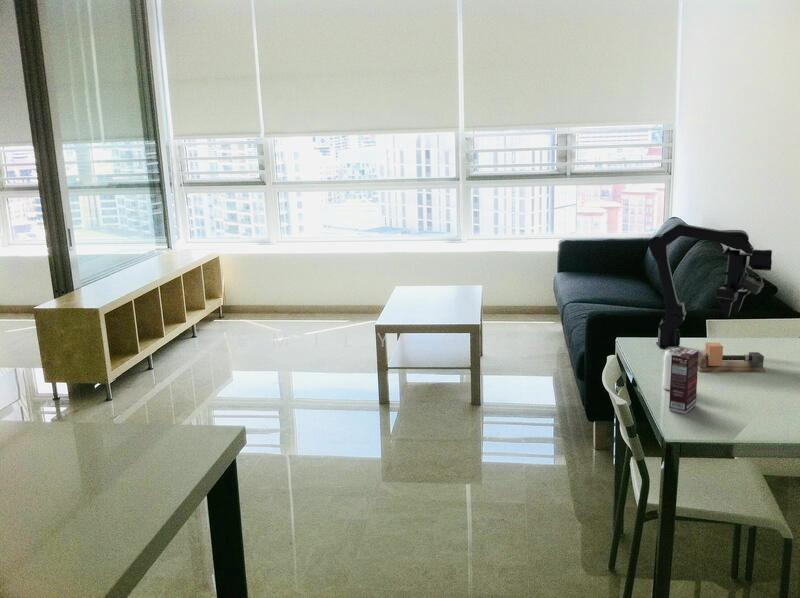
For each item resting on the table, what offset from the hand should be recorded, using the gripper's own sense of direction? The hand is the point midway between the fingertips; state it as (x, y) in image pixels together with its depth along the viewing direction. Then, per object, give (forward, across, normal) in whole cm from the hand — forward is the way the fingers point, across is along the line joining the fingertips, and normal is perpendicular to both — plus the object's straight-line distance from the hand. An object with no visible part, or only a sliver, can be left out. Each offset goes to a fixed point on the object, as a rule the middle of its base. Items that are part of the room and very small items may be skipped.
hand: (732, 314), depth 252 cm
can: (+14, -46, -1) cm, 48 cm away
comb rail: (+13, -17, -6) cm, 23 cm away
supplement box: (+14, -60, -9) cm, 62 cm away
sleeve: (+12, -20, -2) cm, 24 cm away
